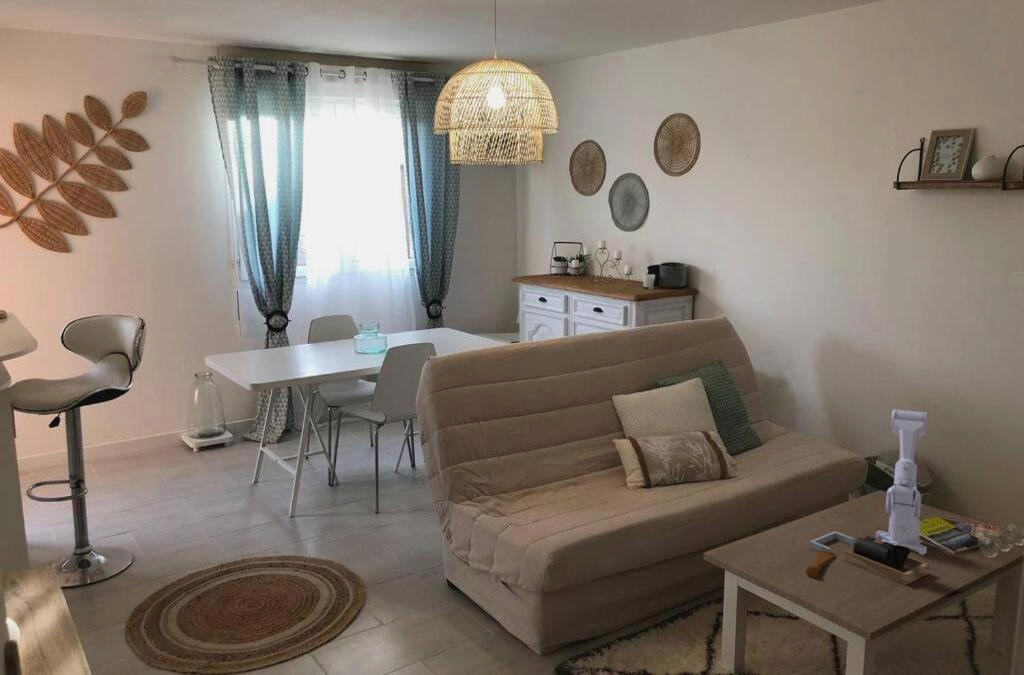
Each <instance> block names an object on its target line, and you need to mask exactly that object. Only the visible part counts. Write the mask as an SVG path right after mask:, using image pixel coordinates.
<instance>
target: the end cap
mask: <svg viewBox="0 0 1024 675" xmlns="http://www.w3.org/2000/svg"><path fill="white" fill-rule="evenodd" d="M876 540H877V538H874V537H872V536H869V535H868V536H865V537H858V538H856V540H855V541H854V545H853V550H852V551H853V552H852V553H855V554H857V555H860V556H863V557H865V558H868V559H870V560H873V561H875V562H878V563H881V564H883V565H886V566H888V567H892V566H894V562H893V561H892V560H893V559H892V556H891V553H890V551H889V550H888V545H890V543H888V542H882V543H879V542H877V541H876ZM875 541H876V542H875Z"/></svg>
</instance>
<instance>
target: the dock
mask: <svg viewBox="0 0 1024 675" xmlns="http://www.w3.org/2000/svg"><path fill="white" fill-rule="evenodd" d="M833 540H838V541H840V542H843V543H845V544H848V545H851V546H854V544H855V538H854V537H851V536H849V535H846V534H843V533H841V532H838V531H836V530H834V531H831V532H829V533H826V534H824V535H821V536H819V537H817V538H814V539H811V540H809V542H808V548H810V549H812V550H815V551H817V552H818V551H821V552H825V553H827V554H829V553H832V548H831V547H829V546H826V545H824V544H825V543H829V542H831V541H833Z"/></svg>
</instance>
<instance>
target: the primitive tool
mask: <svg viewBox="0 0 1024 675" xmlns="http://www.w3.org/2000/svg"><path fill="white" fill-rule="evenodd" d="M836 558H837V554H835V553H834V552H831V553H829V554H827V553H825V552H821V551H817V554H816V557H815V559H814V560H813V562H812V565H811V566H808V567H807V568H806V570H805V574H806V576H807V577H810V578H814V579H816V578H818V577H819V575H820V573H819V572H821V570H822V569H823V568H824V567H825V566H826V565H828V564H829V563H830V562H831V561H832V560H833V559H836Z"/></svg>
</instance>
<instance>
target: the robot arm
mask: <svg viewBox="0 0 1024 675" xmlns="http://www.w3.org/2000/svg"><path fill="white" fill-rule="evenodd" d="M928 417H929V414H928V412H926V411H924V412H923V411H912V410H903V409H896V408H894V409H893V410H892V411H891V421H890V422H891V423H890V428H891V431H892V433H893V434H894V435H896V436H897V437H899V458H898V461H896V462H895V466H894V467H895V468H894V475H893V476H894V477H893V478H894V480H893V485H892V486H890V487H889V488H888V489H887V490H886V499H885V512H886V514H887V515H888V516H889V519H888V520H889V521H888V532H887V531H885V530H884V531H883V530H877V531H875V539H877V540H878V539H881V542H882V543H884V542H888V543H890V545H888V550H889V551H890V553H891V556H892V559H893V562H894V564H893V566H894V568H893V569H896V570H899V571H901V570H902V569H904V567H905V566H904V563H905V561H906V559H907V557H908V556H910V554H911V553H912V551H914V552H916V553H919V554H920V555H922V556H924V555H925V554H927V550H928V549H927V548H928V547H927V546H925V545H923V544H922V542H923V541H922V540H920V532H921V531H920V529H921V521H920V518H919V517H920V516H921V504H922V498H921V497H922V495H921V492H920V491H919V490H918V488H917V474H918V473H917V472H918V471H917V469H918V465H917V464H916V463H915V450H916V444H917V439H919V438H922V437H923V436H925V435H926V433H927V429H928Z"/></svg>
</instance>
